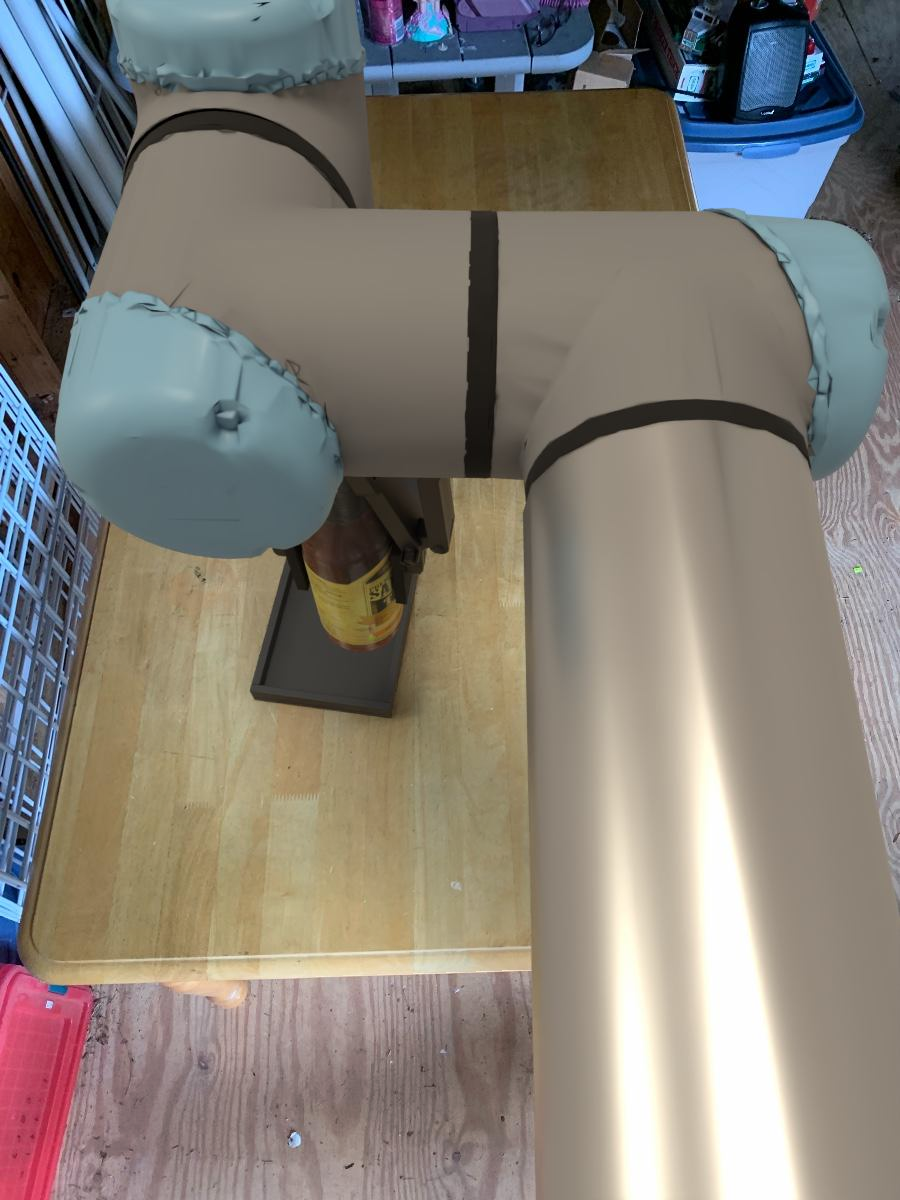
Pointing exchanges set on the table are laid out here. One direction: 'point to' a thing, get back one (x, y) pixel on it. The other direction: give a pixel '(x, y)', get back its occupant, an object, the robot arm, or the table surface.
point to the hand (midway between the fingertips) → (355, 579)
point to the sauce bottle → (353, 574)
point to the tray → (326, 656)
